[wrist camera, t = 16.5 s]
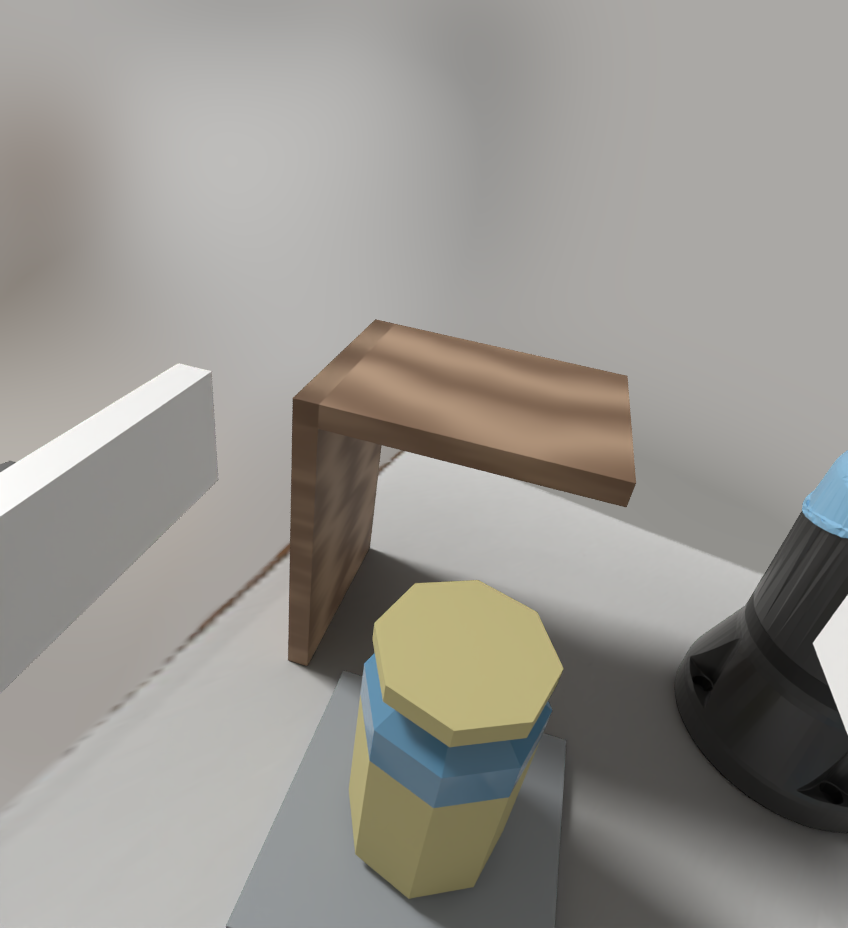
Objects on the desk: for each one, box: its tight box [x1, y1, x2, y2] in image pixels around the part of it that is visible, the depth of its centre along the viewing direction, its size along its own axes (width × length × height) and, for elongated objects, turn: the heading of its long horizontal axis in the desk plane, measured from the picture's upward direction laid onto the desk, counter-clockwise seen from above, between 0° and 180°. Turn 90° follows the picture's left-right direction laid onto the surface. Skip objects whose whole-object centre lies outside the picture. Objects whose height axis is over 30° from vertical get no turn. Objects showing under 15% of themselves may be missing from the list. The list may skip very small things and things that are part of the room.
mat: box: [226, 670, 566, 928], centre depth 35 cm, size 16×16×1 cm
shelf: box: [288, 320, 636, 666], centre depth 43 cm, size 14×18×22 cm
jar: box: [349, 580, 564, 899], centre depth 31 cm, size 9×9×15 cm
